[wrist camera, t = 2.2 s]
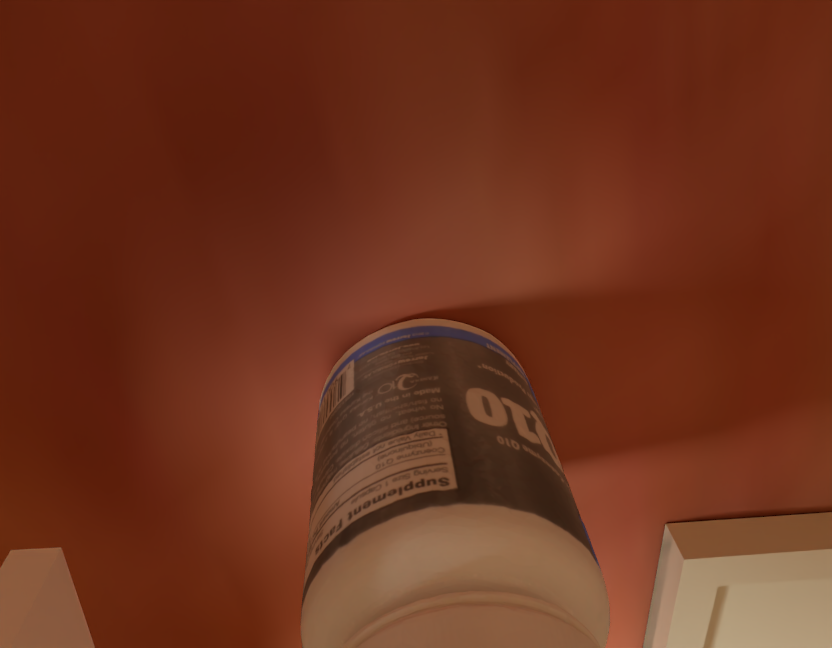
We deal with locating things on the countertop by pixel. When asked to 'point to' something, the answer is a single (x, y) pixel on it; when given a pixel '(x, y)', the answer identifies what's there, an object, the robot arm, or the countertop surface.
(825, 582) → the tray
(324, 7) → the countertop surface
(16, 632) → the robot arm
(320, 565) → the pill bottle
